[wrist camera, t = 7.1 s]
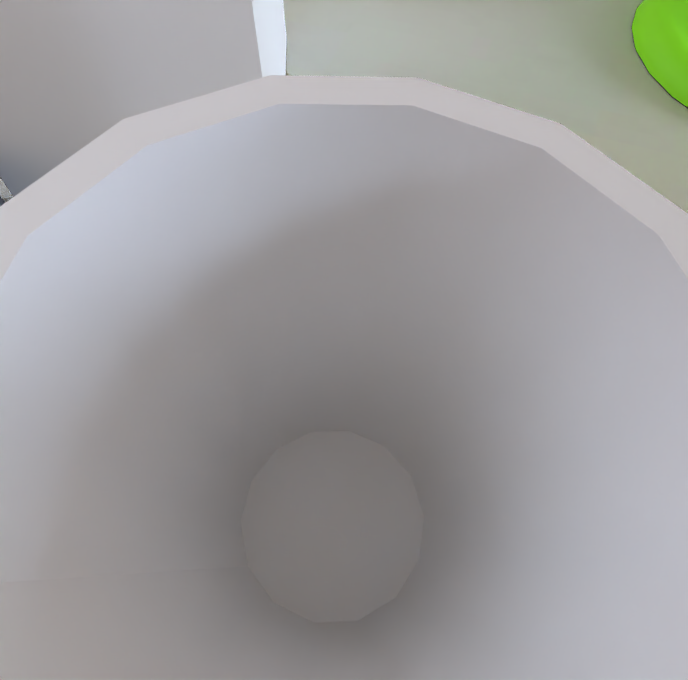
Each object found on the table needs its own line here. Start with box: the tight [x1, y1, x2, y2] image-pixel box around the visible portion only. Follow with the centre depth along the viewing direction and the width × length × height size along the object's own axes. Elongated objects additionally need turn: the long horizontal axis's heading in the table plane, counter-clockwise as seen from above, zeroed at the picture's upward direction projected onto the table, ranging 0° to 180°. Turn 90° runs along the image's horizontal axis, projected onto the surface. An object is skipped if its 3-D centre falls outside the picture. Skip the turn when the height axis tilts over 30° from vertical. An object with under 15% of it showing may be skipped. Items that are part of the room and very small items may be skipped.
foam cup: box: [0, 75, 688, 680], centre depth 11 cm, size 10×9×13 cm
